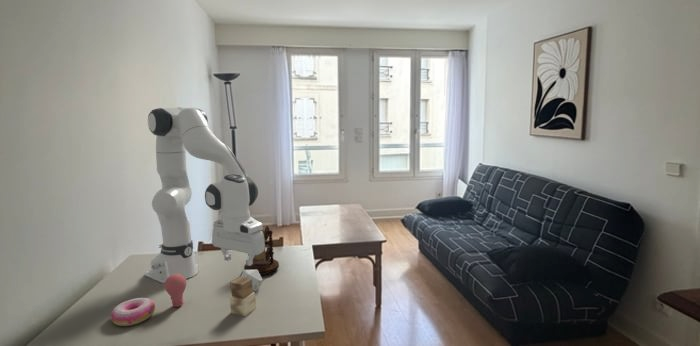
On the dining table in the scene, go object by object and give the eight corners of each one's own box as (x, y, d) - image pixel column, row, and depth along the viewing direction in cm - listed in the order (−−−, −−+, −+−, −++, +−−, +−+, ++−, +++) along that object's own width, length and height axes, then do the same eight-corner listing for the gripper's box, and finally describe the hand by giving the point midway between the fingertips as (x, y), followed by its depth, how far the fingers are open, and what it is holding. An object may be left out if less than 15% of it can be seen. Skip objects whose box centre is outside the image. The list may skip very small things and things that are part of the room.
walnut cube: (231, 296, 139) (230, 282, 138) (241, 289, 143) (240, 276, 142) (243, 298, 137) (242, 284, 136) (252, 292, 141) (252, 279, 140)
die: (250, 298, 151) (264, 275, 152) (231, 286, 152) (245, 264, 153) (255, 296, 159) (268, 274, 160) (237, 285, 160) (250, 263, 161)
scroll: (239, 277, 169) (235, 231, 166) (251, 263, 183) (248, 220, 180) (273, 278, 167) (270, 231, 164) (283, 264, 182) (280, 221, 178)
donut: (145, 304, 147) (144, 291, 146) (163, 316, 139) (161, 302, 138) (105, 320, 137) (103, 306, 136) (121, 333, 128) (119, 318, 128)
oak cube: (231, 312, 139) (229, 296, 138) (242, 305, 145) (241, 289, 144) (244, 316, 137) (243, 299, 136) (256, 308, 142) (255, 292, 141)
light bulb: (175, 313, 140) (171, 280, 138) (162, 308, 144) (159, 276, 142) (192, 304, 146) (189, 273, 144) (180, 299, 150) (177, 269, 148)
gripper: (206, 221, 137) (208, 260, 139) (254, 229, 128) (255, 271, 131) (220, 217, 143) (221, 254, 145) (266, 224, 134) (267, 264, 136)
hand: (238, 262), depth 138 cm, fingers open, 8 cm apart
